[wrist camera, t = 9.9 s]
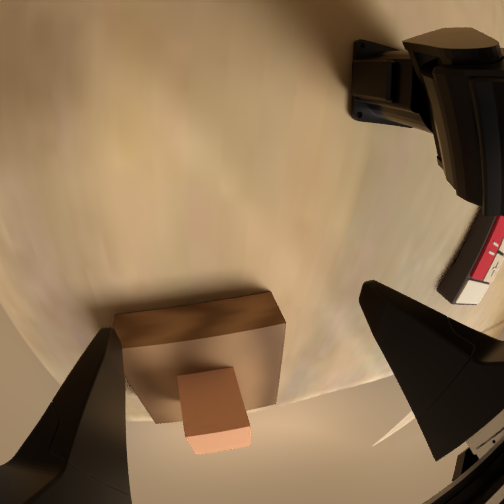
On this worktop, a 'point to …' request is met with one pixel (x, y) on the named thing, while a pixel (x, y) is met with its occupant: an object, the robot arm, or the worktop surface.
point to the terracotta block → (213, 411)
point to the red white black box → (475, 262)
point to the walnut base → (203, 350)
